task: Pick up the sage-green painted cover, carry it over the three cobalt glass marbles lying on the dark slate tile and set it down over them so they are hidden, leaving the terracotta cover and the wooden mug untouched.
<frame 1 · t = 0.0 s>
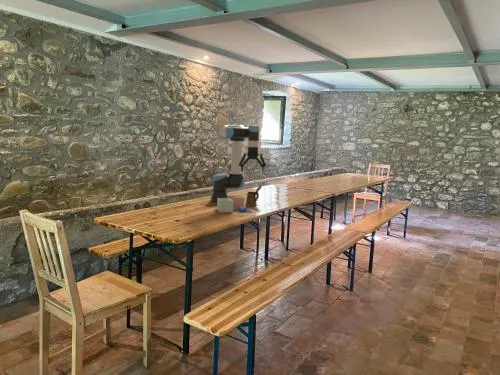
hand: (251, 175, 275), 28 cm above the table, fingers open, 13 cm apart
wooden mug: (253, 206, 305), on the table
slate tile: (242, 211, 283), on the table
terracotta cover: (235, 208, 295), on the table
marble 3: (245, 211, 284), resting on slate tile
marble 1: (240, 210, 285), resting on slate tile
marble 2: (242, 211, 282), resting on slate tile
sage cover: (225, 211, 283), on the table
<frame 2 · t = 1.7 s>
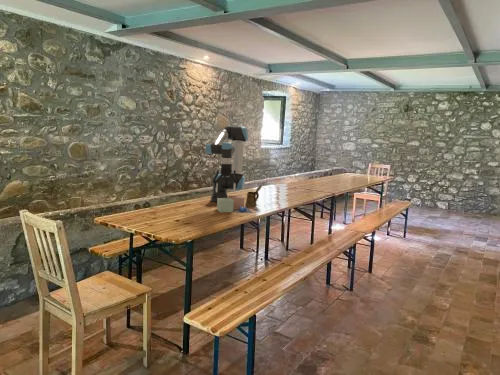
hand: (225, 191, 280), 15 cm above the table, fingers open, 13 cm apart
nothing on the table moved.
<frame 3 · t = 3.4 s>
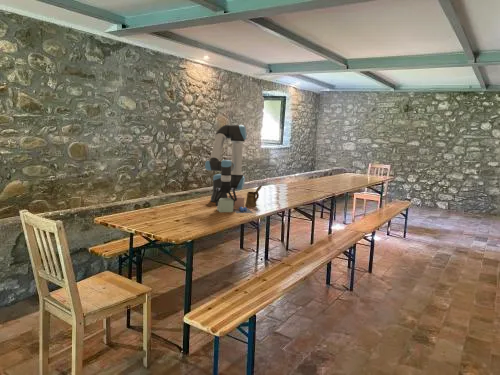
hand: (225, 210, 283), 1 cm above the table, fingers closed on sage cover, 10 cm apart
sage cover: (225, 211, 283), on the table, touching gripper
everything else where it was.
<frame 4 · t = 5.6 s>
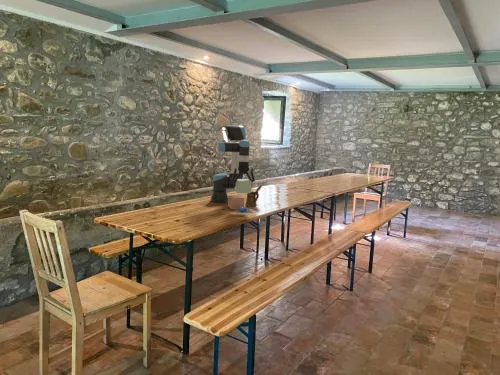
hand: (242, 190, 281), 16 cm above the table, fingers closed on sage cover, 10 cm apart
sage cover: (242, 191, 281), point 15 cm above the table, touching gripper
everything else where it was.
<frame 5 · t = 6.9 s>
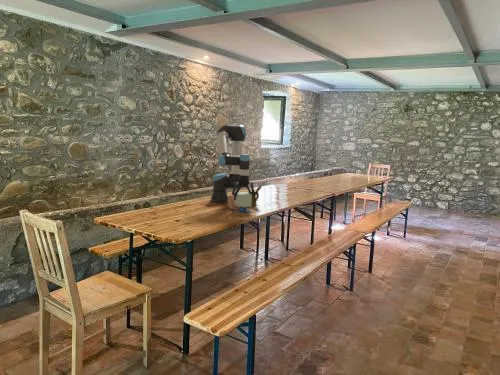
hand: (242, 204, 283), 6 cm above the table, fingers closed on sage cover, 10 cm apart
sage cover: (242, 205, 283), point 5 cm above the table, touching gripper
everything else where it was.
when the fingers open (2 cm above the table, at t = 8.1 s): sage cover drops 1 cm, resting on slate tile.
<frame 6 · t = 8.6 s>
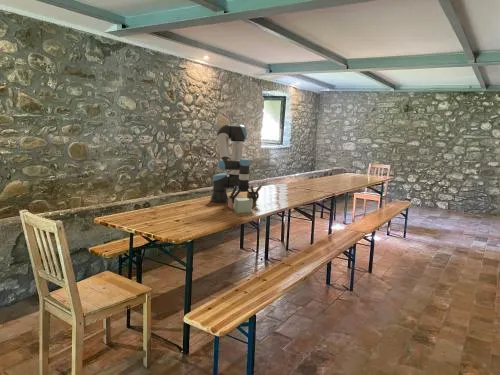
hand: (242, 207, 283), 3 cm above the table, fingers open, 13 cm apart
sage cover: (242, 211, 283), resting on slate tile
everything else where it was.
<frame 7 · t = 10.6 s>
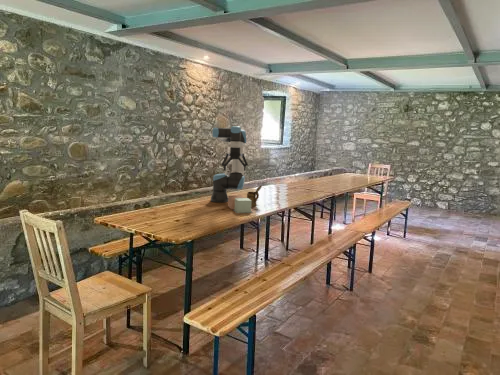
hand: (234, 174, 287), 27 cm above the table, fingers open, 13 cm apart
nothing on the table moved.
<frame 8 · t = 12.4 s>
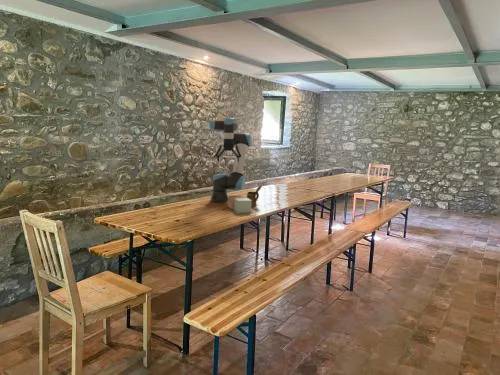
hand: (227, 166, 290), 33 cm above the table, fingers open, 13 cm apart
nothing on the table moved.
at the end: sage cover 0.0 cm off-centre on the slate tile, point 0.4 cm above the slate tile's base; sage cover tilted 0°; marble 3 1.9 cm from the sage cover (horizontally) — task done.
